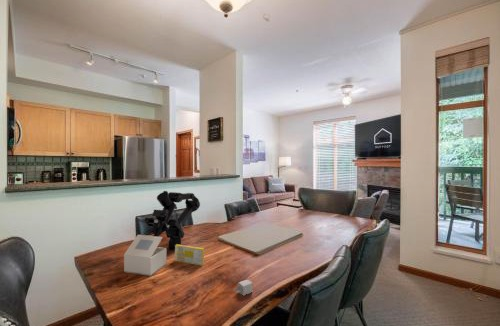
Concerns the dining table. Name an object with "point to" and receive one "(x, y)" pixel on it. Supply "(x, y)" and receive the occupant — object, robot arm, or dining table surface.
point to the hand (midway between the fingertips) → (154, 238)
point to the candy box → (189, 254)
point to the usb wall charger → (244, 287)
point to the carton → (145, 263)
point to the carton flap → (143, 246)
